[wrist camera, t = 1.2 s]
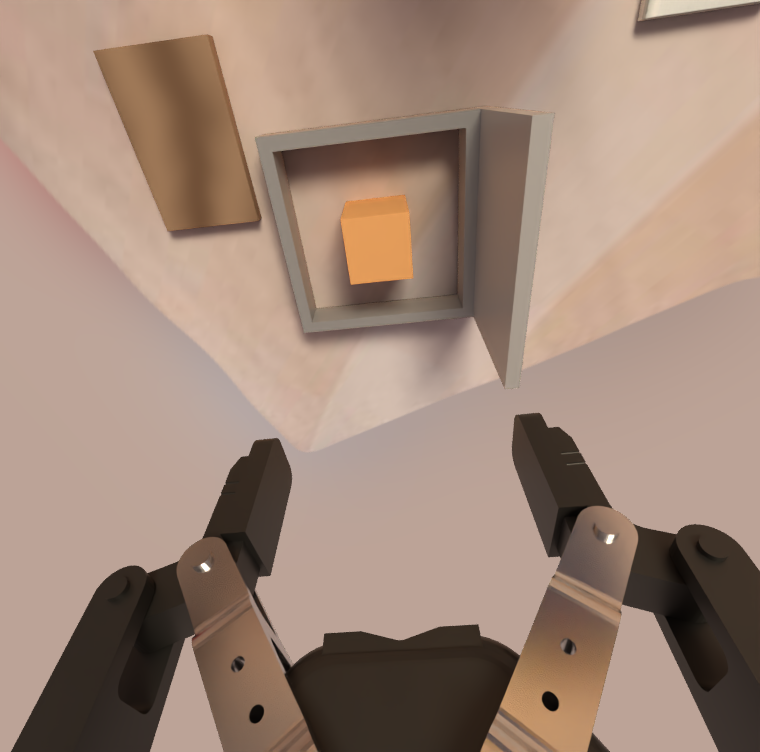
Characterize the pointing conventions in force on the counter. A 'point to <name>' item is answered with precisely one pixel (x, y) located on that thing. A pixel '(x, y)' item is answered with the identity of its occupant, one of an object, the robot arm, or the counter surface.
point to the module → (377, 239)
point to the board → (182, 130)
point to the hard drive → (685, 7)
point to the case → (475, 224)
